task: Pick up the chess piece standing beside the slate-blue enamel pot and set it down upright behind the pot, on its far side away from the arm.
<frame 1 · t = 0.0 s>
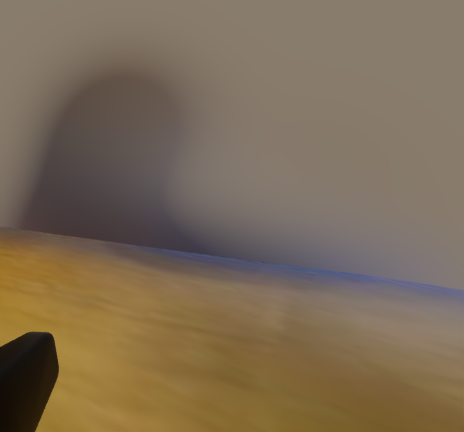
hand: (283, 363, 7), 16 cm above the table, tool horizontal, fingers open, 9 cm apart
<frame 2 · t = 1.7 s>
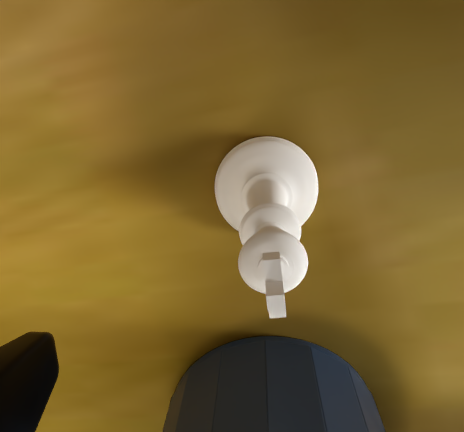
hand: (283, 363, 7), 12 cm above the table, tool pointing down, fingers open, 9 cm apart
pot: (271, 419, 24), on the table
chess piece: (265, 186, 19), on the table
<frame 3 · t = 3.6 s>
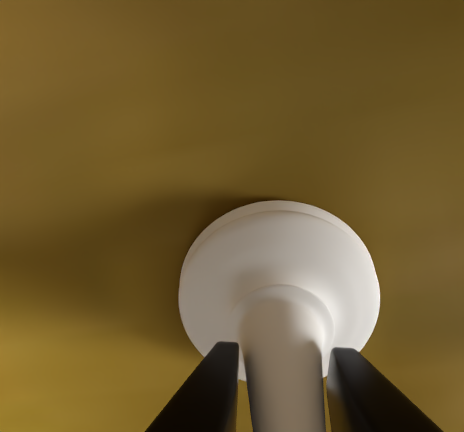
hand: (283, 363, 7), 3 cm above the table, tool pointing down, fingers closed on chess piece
chess piece: (275, 287, 10), on the table, touching gripper
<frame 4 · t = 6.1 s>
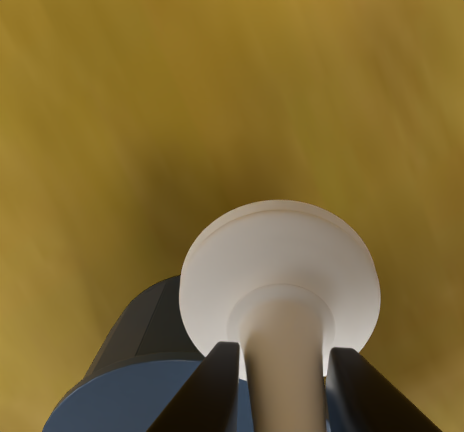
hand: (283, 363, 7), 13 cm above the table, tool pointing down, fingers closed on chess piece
pot: (212, 363, 23), on the table
chess piece: (276, 287, 10), point 10 cm above the table, touching gripper
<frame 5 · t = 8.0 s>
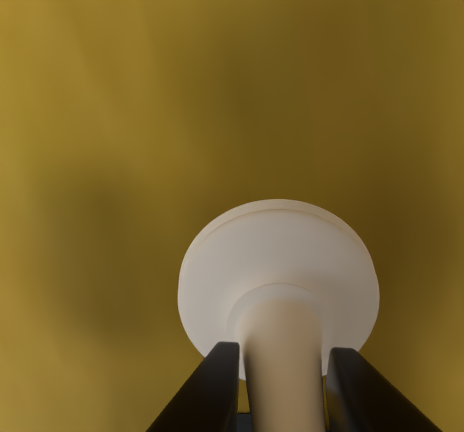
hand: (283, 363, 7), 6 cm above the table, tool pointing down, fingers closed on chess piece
chess piece: (275, 286, 10), point 3 cm above the table, touching gripper
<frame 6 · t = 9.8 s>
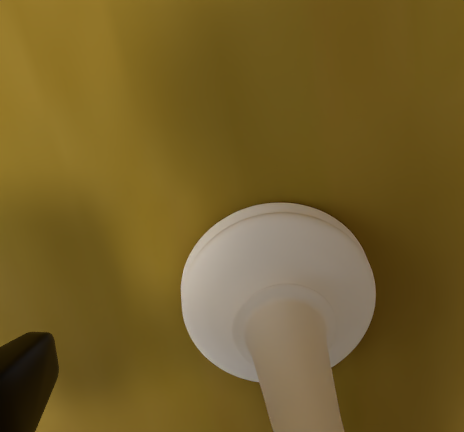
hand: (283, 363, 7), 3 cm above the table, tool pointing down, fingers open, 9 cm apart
chess piece: (274, 287, 10), on the table
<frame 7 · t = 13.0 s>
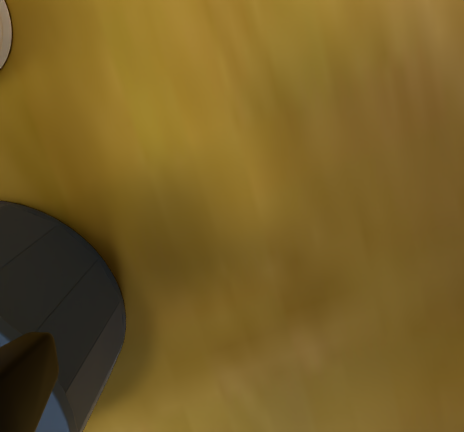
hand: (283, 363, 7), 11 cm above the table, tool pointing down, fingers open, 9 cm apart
pot: (13, 308, 21), on the table
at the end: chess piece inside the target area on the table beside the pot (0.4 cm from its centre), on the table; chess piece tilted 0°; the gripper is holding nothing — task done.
